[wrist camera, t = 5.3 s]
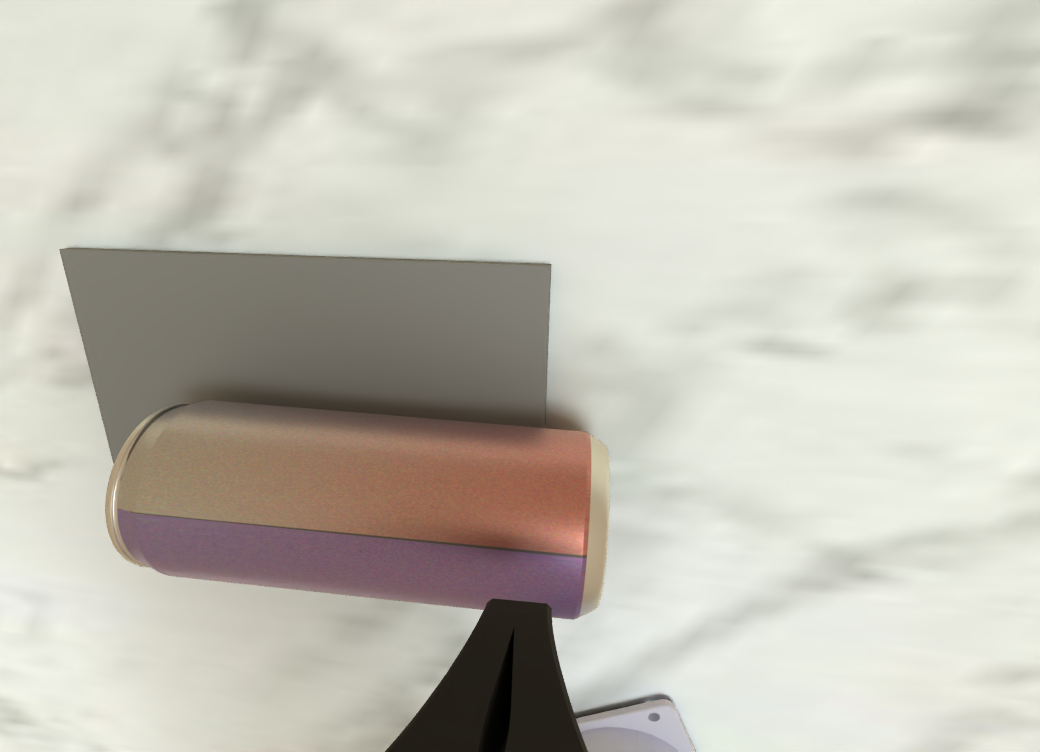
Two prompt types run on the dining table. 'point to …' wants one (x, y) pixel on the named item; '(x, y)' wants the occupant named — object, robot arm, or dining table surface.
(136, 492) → the beverage can
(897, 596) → the dining table surface
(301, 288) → the mat
